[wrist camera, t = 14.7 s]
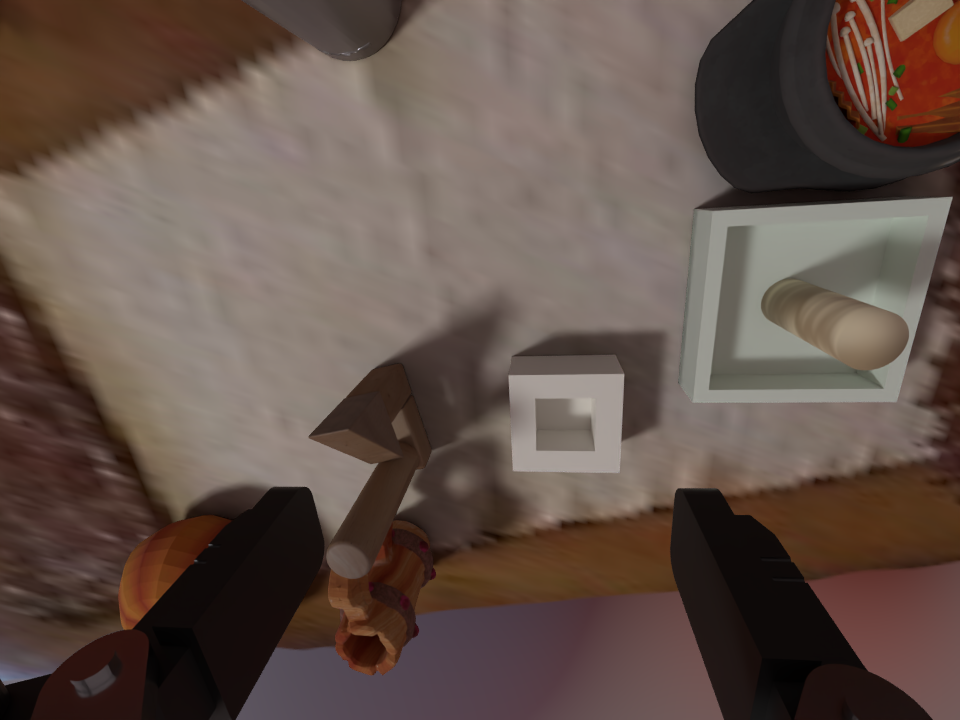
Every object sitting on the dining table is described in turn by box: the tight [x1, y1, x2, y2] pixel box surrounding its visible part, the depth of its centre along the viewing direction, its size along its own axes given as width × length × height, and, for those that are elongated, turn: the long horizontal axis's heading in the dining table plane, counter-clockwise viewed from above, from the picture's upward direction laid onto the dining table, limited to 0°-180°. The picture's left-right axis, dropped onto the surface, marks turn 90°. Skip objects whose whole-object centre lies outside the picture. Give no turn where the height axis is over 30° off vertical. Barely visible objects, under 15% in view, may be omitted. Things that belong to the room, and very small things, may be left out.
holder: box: [509, 355, 624, 473], centre depth 44 cm, size 10×10×5 cm
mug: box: [328, 520, 436, 675], centre depth 47 cm, size 15×8×15 cm, turn 9°
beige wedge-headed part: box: [309, 364, 432, 579], centre depth 41 cm, size 4×11×18 cm, turn 15°
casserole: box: [695, 0, 960, 193], centre depth 30 cm, size 25×19×8 cm
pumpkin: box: [118, 515, 232, 630], centre depth 53 cm, size 19×19×15 cm
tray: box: [678, 196, 953, 403], centre depth 38 cm, size 16×16×4 cm
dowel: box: [761, 278, 909, 370], centre depth 34 cm, size 4×4×11 cm
